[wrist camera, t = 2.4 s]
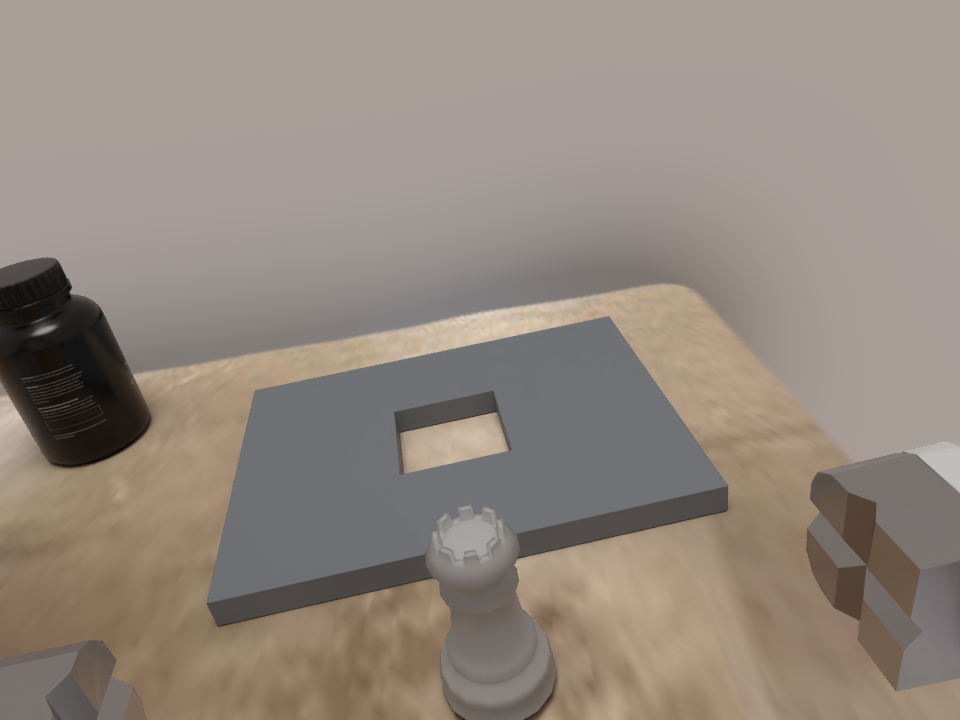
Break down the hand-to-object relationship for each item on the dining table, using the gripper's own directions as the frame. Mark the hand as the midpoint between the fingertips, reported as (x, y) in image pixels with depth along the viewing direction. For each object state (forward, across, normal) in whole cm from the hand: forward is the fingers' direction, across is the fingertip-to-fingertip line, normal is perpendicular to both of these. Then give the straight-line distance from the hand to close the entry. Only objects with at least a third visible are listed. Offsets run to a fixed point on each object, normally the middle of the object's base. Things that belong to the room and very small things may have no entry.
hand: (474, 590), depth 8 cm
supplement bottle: (+37, +23, +18) cm, 48 cm away
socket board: (+27, 0, +18) cm, 33 cm away
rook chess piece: (+12, 0, +19) cm, 22 cm away
